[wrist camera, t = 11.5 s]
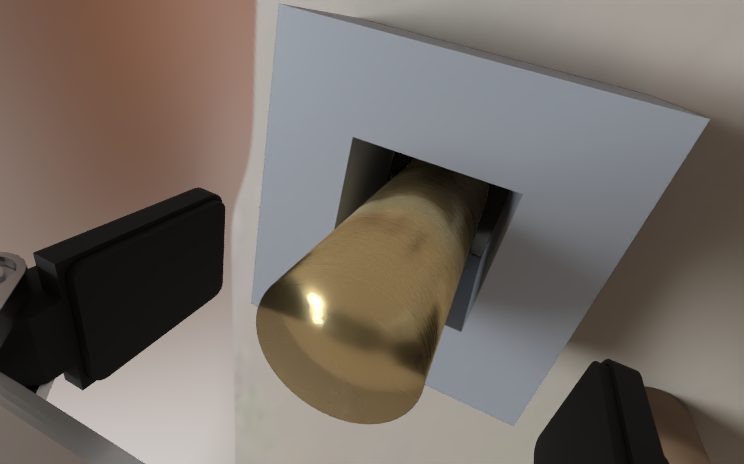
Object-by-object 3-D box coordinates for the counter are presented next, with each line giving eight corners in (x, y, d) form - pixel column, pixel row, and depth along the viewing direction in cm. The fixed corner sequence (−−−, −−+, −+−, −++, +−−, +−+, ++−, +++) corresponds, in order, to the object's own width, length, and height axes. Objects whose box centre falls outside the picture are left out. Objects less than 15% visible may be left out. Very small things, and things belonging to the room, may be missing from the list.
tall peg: (416, 134, 18) (264, 242, 8) (501, 162, 17) (452, 322, 7) (395, 210, 20) (250, 375, 10) (471, 238, 19) (397, 450, 9)
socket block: (355, 17, 17) (278, 3, 12) (649, 95, 14) (710, 119, 9) (314, 247, 23) (251, 303, 18) (519, 331, 20) (513, 426, 15)
